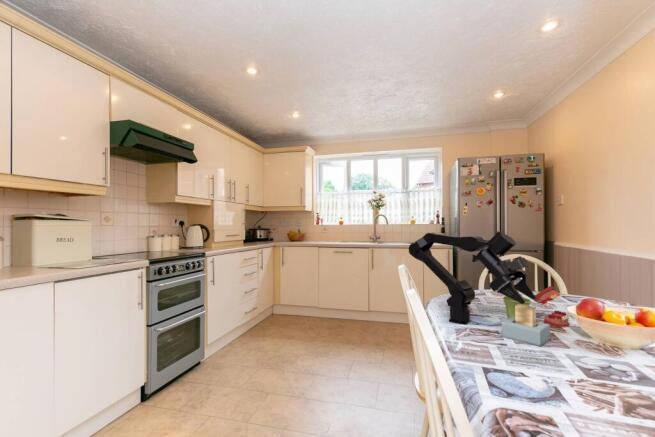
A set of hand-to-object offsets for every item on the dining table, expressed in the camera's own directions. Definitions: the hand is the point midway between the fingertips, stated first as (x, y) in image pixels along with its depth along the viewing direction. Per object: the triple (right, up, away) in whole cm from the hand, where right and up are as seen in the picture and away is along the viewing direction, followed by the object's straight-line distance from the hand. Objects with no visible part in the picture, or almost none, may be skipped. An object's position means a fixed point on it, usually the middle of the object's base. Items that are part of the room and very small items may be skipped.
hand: (529, 300), depth 99 cm
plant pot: (+7, -13, +18) cm, 24 cm away
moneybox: (-1, -13, +1) cm, 13 cm away
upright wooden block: (-1, -12, +1) cm, 12 cm away
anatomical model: (+20, -13, +17) cm, 29 cm away
